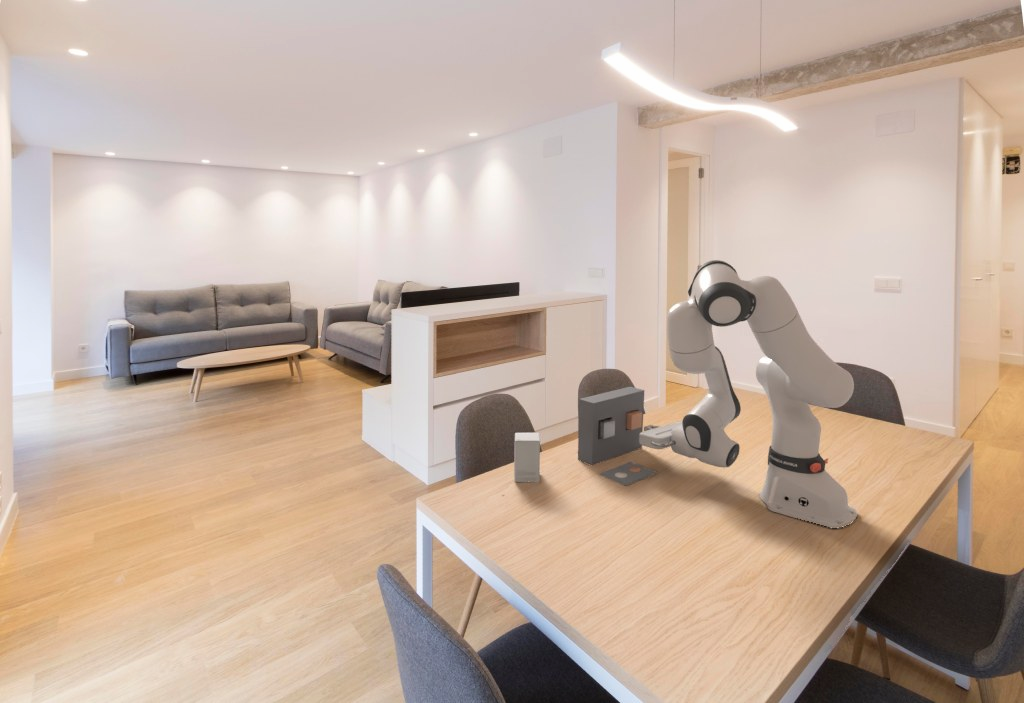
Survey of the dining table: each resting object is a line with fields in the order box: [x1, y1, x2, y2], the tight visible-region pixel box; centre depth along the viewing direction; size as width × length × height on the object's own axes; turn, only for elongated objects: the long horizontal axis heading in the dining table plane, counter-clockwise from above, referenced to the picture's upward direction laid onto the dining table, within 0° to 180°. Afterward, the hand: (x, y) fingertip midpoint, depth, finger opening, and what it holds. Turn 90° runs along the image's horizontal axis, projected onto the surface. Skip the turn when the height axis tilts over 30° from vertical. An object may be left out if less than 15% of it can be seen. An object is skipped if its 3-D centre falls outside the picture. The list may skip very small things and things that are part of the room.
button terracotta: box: [626, 410, 642, 430], centre depth 178 cm, size 3×5×5 cm, turn 128°
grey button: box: [598, 418, 615, 439], centre depth 170 cm, size 3×5×5 cm, turn 128°
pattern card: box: [599, 461, 658, 487], centre depth 163 cm, size 10×14×1 cm
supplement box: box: [513, 432, 541, 483], centre depth 160 cm, size 7×7×13 cm
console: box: [577, 386, 645, 466], centre depth 177 cm, size 6×24×20 cm, turn 128°
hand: (646, 428), depth 172 cm, fingers closed
